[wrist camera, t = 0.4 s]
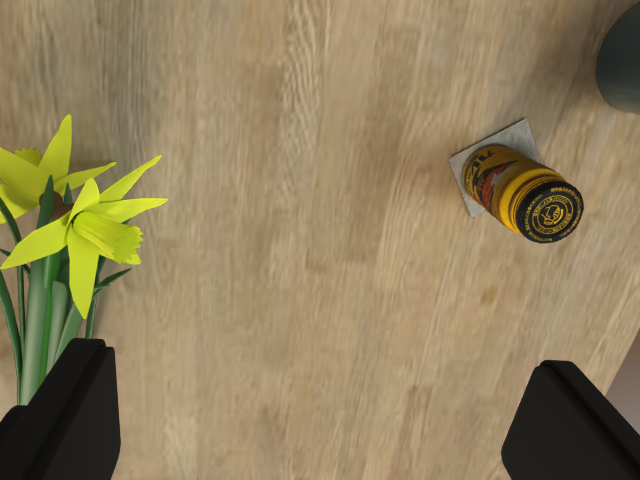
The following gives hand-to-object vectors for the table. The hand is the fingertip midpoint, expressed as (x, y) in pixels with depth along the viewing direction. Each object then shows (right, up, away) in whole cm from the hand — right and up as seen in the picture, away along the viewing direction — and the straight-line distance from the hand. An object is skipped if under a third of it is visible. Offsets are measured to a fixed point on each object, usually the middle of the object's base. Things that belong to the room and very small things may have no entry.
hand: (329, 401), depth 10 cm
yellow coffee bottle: (+18, +11, +36) cm, 42 cm away
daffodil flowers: (-24, +1, +37) cm, 44 cm away
